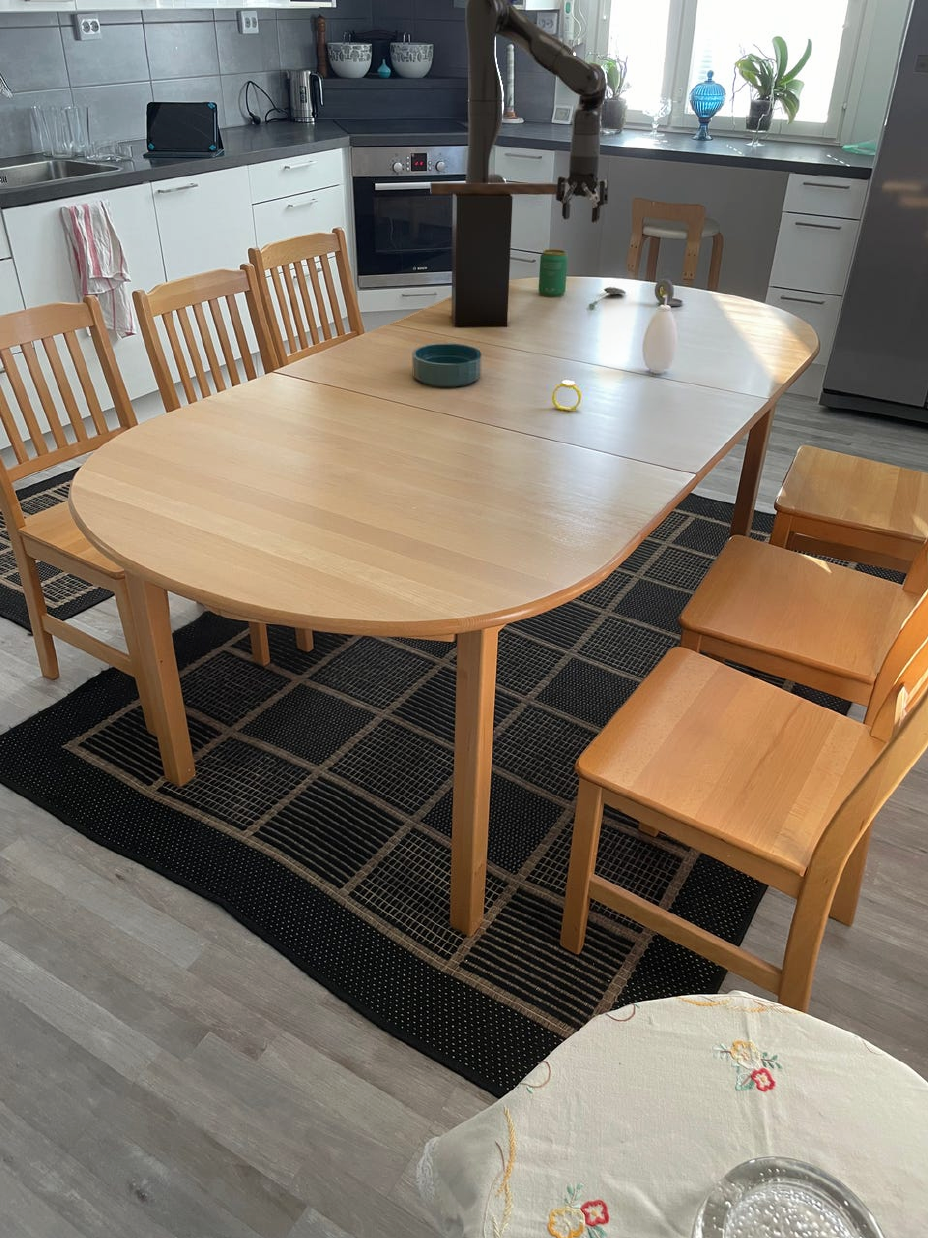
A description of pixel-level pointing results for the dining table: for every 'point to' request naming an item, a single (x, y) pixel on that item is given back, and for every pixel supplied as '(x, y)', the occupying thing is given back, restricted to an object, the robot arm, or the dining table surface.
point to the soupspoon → (609, 291)
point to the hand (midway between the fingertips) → (580, 220)
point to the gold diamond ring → (568, 385)
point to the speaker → (481, 259)
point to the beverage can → (553, 273)
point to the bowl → (446, 365)
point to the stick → (492, 188)
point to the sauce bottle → (660, 340)
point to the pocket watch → (666, 289)
